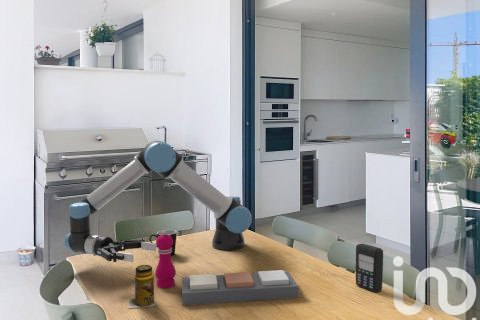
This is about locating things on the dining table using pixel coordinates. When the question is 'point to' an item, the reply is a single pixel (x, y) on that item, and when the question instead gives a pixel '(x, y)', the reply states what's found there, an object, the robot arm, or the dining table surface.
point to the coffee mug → (171, 233)
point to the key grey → (273, 277)
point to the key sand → (203, 282)
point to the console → (238, 292)
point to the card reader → (369, 267)
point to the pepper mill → (165, 262)
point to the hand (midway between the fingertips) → (144, 252)
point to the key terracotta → (238, 279)
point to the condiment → (143, 288)
